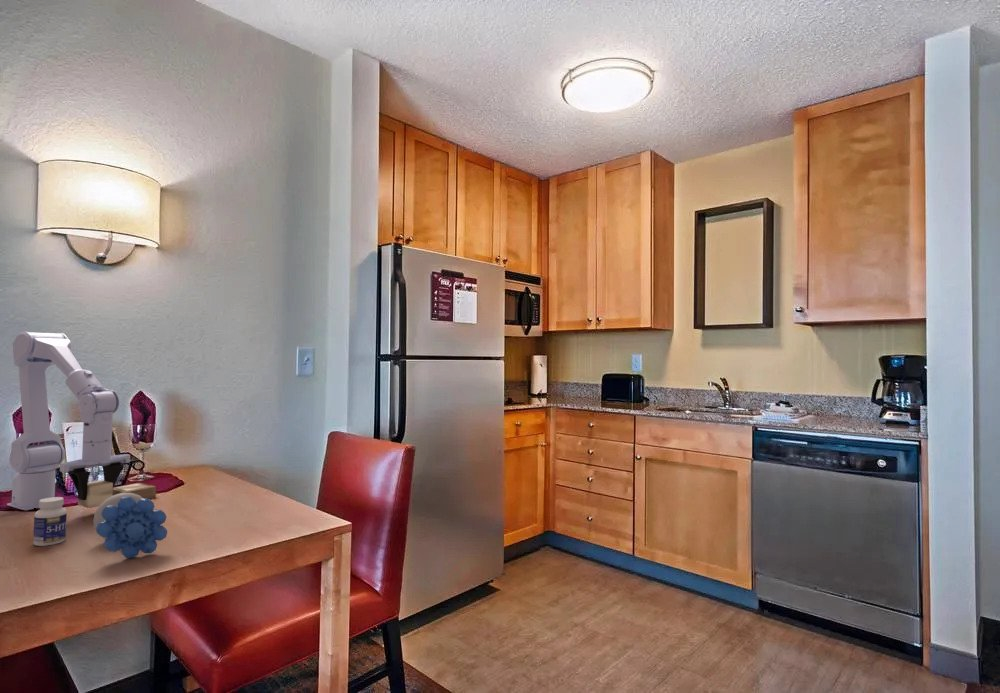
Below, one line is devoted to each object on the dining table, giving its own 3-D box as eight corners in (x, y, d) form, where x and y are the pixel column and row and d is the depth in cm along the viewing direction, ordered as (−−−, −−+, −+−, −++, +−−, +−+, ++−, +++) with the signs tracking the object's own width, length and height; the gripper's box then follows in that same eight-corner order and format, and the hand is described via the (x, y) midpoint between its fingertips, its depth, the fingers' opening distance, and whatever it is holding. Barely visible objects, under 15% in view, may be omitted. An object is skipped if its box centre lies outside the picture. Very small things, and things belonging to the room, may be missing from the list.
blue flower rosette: (96, 571, 101) (98, 505, 101) (94, 560, 106) (96, 497, 106) (170, 558, 108) (172, 496, 108) (164, 548, 113) (166, 489, 113)
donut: (94, 547, 113) (95, 498, 113) (90, 543, 115) (92, 495, 115) (150, 537, 120) (152, 490, 120) (146, 533, 122) (147, 487, 122)
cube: (77, 504, 134) (78, 484, 134) (100, 500, 138) (101, 480, 138) (89, 508, 131) (90, 486, 131) (112, 503, 136) (112, 482, 136)
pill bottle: (47, 547, 112) (48, 503, 112) (26, 545, 113) (27, 501, 113) (72, 539, 117) (73, 497, 118) (52, 537, 118) (53, 495, 119)
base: (107, 499, 148) (107, 488, 148) (138, 493, 155) (138, 482, 155) (124, 504, 144) (125, 492, 144) (155, 497, 152) (156, 486, 152)
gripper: (72, 446, 127) (69, 506, 126) (138, 438, 139) (136, 492, 139) (55, 443, 130) (53, 501, 130) (121, 436, 143) (119, 489, 143)
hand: (95, 496), depth 135 cm, fingers closed on cube, 5 cm apart
